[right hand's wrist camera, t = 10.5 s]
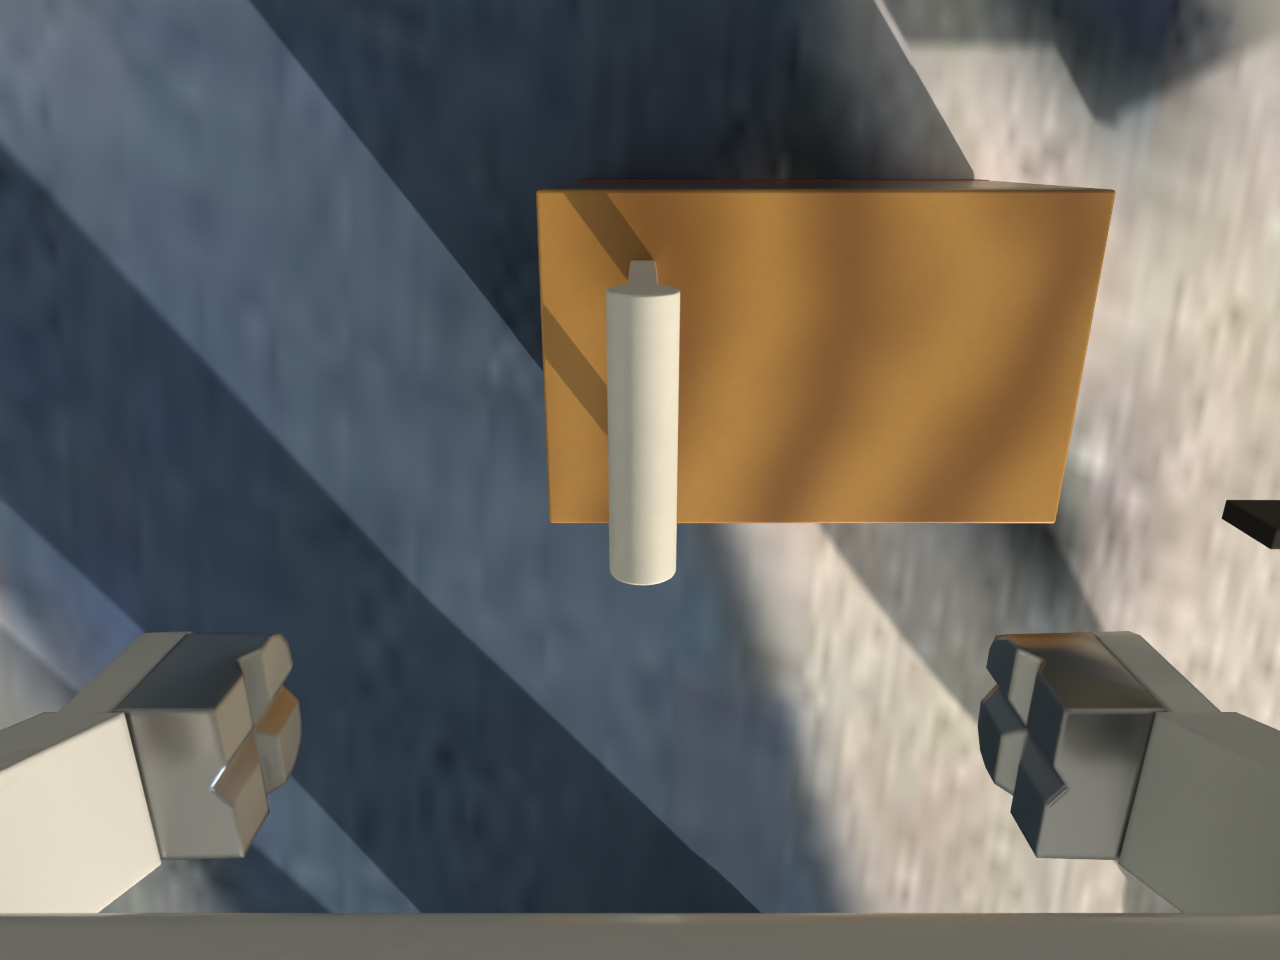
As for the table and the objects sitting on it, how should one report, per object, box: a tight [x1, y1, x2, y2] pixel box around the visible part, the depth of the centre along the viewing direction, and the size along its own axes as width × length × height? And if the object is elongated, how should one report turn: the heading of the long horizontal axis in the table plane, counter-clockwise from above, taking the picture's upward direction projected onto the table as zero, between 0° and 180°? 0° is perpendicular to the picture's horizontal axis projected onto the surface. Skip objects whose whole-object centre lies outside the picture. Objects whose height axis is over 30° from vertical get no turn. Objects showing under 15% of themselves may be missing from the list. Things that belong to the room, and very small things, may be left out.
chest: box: [563, 180, 1095, 189], centre depth 30 cm, size 15×10×9 cm, turn 90°
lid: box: [536, 189, 1115, 585], centre depth 22 cm, size 16×10×8 cm, turn 90°
